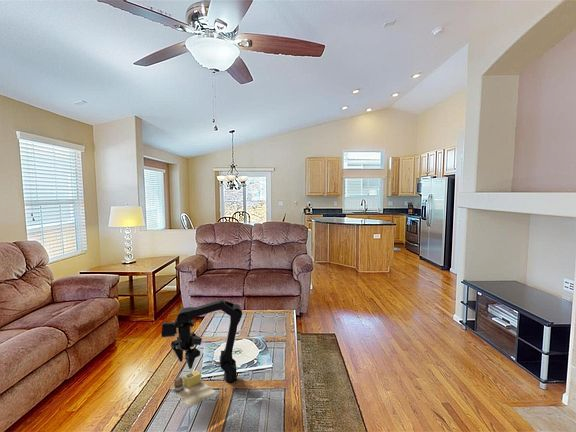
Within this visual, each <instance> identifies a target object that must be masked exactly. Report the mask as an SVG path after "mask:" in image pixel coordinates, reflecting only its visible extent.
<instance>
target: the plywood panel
mask: <svg viewBox="0 0 576 432" xmlns="http://www.w3.org/2000/svg"><path fill="white" fill-rule="evenodd" d="M169 388H170V389H171V391H172V392H174V393H175V395H177V396H178V397H179V399H181V401H183V402H184V403H185V404H186V406H187V407H189V408H191V407H194V406H195V405H197V404H200V403H201V402H203V401H204V400H207V399H209V398H211V397H212V396H215V395H216V394H217V392H216V391H215V390H214V389H213V388H211V387H210V386H209V385H208V384H207V383H205V382H204V381H203V379H201V382H200V383H198V384H195V385H193V386H191V387H189V388H187V387H186V386H185V385H184V384H183V390H182V391H180V392H175V388H174V385H172V386H170V387H169Z"/></svg>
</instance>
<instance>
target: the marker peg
mask: <svg viewBox="0 0 576 432" xmlns="http://www.w3.org/2000/svg"><path fill="white" fill-rule="evenodd" d="M173 383H174V385H173V386H174V388H175V392H180V391H182V390H183V377H181V376H179V377H176V378H174V381H173ZM175 392H174V393H175Z"/></svg>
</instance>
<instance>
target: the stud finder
mask: <svg viewBox="0 0 576 432" xmlns="http://www.w3.org/2000/svg"><path fill="white" fill-rule="evenodd" d="M182 378H183V384H184V385H185V386H186V387H187V388H189V387H191V386H193V385H195V384H198V383H200V382H201V380H202V379H201V373H200V372H199V371H198V370H197V369H196V370H193V371H190V372H188V373H186V374H184V375H182Z"/></svg>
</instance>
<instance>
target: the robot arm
mask: <svg viewBox="0 0 576 432" xmlns="http://www.w3.org/2000/svg"><path fill="white" fill-rule="evenodd" d="M217 311H222V312H224V313H225V314H226V315H228V316H229V319H230V320H229V327H228V332H227V337H226V342H225V347H224V349H223V350H220V355H219V365H220V368H221V370H223V373H224V375H223V376H224V382H226V383H229V384H233V383H235V382H237V377H238V376H237V375H238V374H237V361H236V360H235V359H234V358H233V350H234V345H235V338H236V333H237V329H238V325H239V323H240V322H241V319H242V316H243V310H242V306H241V305H240V304H239V303H238V304H236V303H235V304H234V303H233V302H231V301H230V302H229V301H227V300H225V299H221V298H220V299H219V300H215V301H212V302H208V303H206V304H202V305H198V306H194V307H192V306H189V307H181V308H180V309H179V311H178V314H177V317H176V318H175V320H174V321H172V322H171V321H170V322H163V323H162V324H161V326H162V327H161V332H160V333H161V334H160V335H161V338H171V337H172V338H173V337H175V336H176V335H177V334H178V335H177V337H176V339H175V340H172V341H171V342H170V348H171V349H172V351H173V353H174V354H175V355H176V357H177V359H178V360H179V362H180V363H181V362H183V359H185V361H186V362H185V363H186V364H187V366H188V369H189V370H191V369H193V365H194V362H195V361H196V358H198V357H200V356H201V350H199V348H196V347H194V346H201V344H202V342H203V337H201V336H198V335H196V333H195V332H192V329H191V327H194V326H195V322H194V321H193V320H194V319H195V318H198V317H200V316H204V315H207V314H211V313H213V312H214V313H215V312H217ZM184 351H185V353H184Z"/></svg>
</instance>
